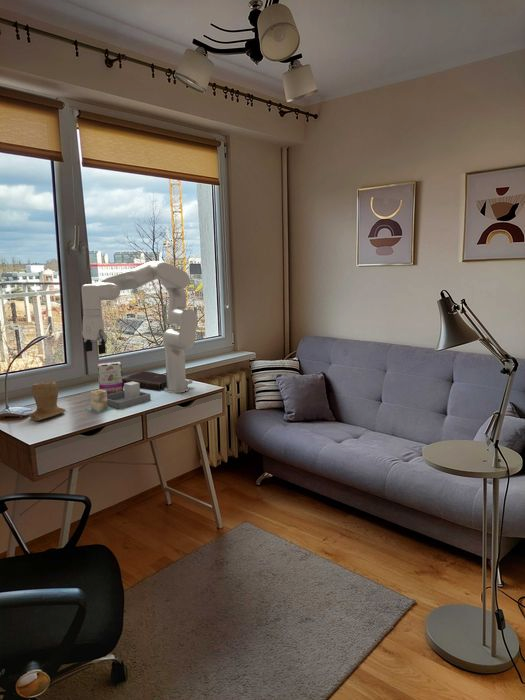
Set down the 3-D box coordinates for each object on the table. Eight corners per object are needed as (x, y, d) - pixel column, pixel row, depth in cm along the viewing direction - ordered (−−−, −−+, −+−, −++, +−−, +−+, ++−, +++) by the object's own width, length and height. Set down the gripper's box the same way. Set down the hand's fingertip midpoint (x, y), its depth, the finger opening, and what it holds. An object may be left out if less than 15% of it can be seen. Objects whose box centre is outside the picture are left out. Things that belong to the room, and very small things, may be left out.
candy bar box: (122, 393, 248) (120, 361, 245) (124, 396, 243) (121, 363, 240) (99, 395, 244) (96, 363, 241) (100, 398, 239) (97, 365, 236)
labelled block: (101, 406, 225) (99, 388, 223) (107, 408, 222) (106, 390, 220) (91, 409, 221) (90, 391, 219) (98, 411, 218) (96, 393, 216)
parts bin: (131, 395, 243) (130, 388, 243) (150, 401, 235) (150, 393, 234) (100, 404, 230) (99, 397, 229) (119, 410, 221) (119, 402, 220)
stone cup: (51, 409, 223) (48, 377, 220) (70, 413, 217) (67, 380, 214) (21, 419, 209) (17, 385, 207) (40, 423, 204) (36, 388, 201)
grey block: (133, 397, 239) (132, 381, 237) (140, 399, 236) (139, 383, 234) (124, 400, 235) (123, 383, 233) (131, 401, 232) (130, 385, 230)
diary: (159, 393, 250) (158, 383, 249) (120, 387, 261) (120, 378, 260) (180, 384, 267) (180, 375, 266) (143, 379, 278) (143, 370, 277)
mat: (100, 406, 227) (100, 404, 227) (114, 410, 221) (114, 408, 221) (85, 410, 221) (85, 409, 221) (98, 414, 215) (98, 413, 215)
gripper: (73, 312, 215) (76, 351, 219) (97, 315, 205) (99, 356, 208) (88, 311, 221) (91, 348, 224) (112, 313, 211) (115, 353, 214)
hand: (95, 352), depth 216 cm, fingers open, 9 cm apart
